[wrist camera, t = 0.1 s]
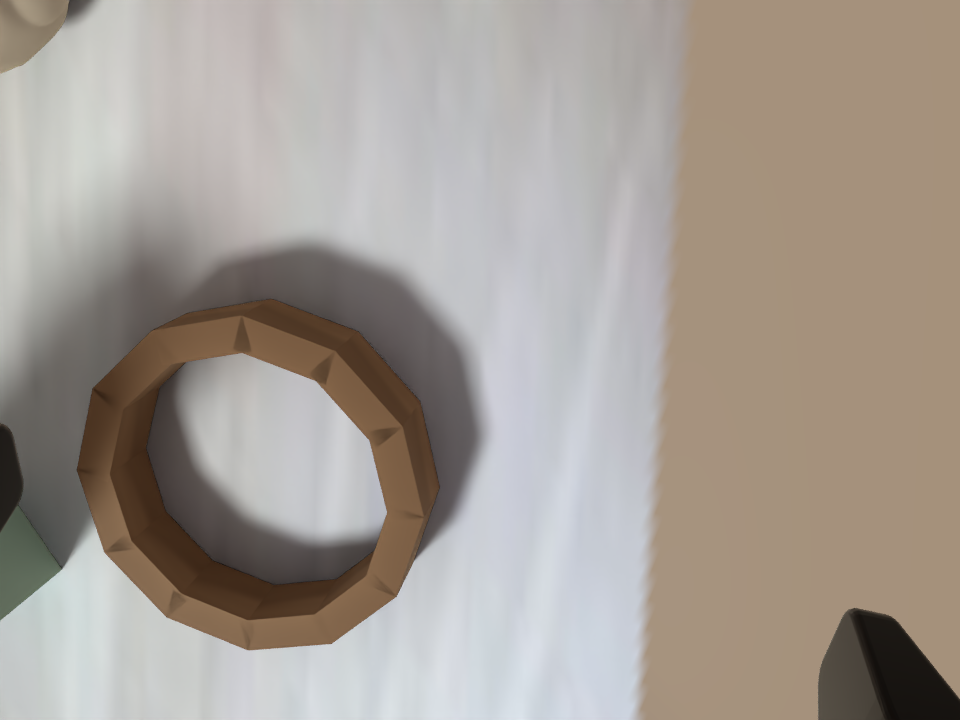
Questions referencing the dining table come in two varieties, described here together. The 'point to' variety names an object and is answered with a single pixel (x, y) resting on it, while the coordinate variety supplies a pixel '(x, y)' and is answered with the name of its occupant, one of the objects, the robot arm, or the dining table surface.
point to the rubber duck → (27, 28)
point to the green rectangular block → (22, 562)
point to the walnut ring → (169, 549)
